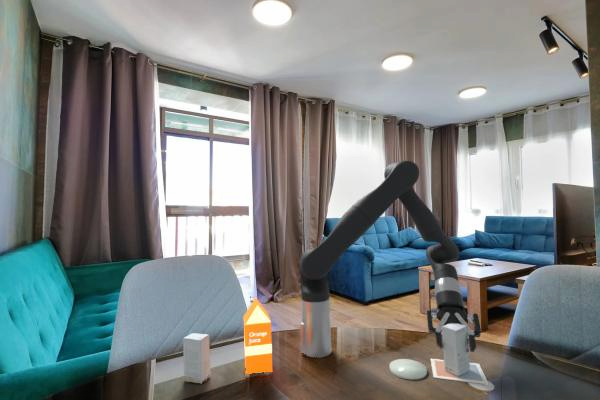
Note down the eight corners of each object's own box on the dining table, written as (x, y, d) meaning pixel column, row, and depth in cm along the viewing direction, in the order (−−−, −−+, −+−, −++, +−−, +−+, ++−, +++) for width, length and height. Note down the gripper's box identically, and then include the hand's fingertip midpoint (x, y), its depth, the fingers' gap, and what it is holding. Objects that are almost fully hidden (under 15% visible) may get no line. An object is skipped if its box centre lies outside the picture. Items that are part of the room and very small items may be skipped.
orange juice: (245, 378, 87) (243, 305, 87) (244, 363, 95) (242, 297, 96) (273, 374, 88) (271, 303, 89) (269, 360, 97) (267, 295, 98)
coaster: (388, 376, 85) (388, 373, 85) (390, 360, 94) (390, 357, 94) (428, 381, 81) (428, 378, 81) (425, 364, 91) (425, 361, 91)
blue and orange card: (433, 377, 83) (433, 377, 83) (430, 359, 94) (430, 358, 94) (488, 384, 79) (488, 383, 79) (479, 364, 89) (479, 363, 89)
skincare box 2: (459, 377, 83) (456, 330, 83) (443, 370, 86) (440, 326, 87) (471, 369, 86) (468, 325, 87) (455, 363, 90) (453, 321, 90)
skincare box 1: (211, 377, 88) (210, 334, 88) (201, 385, 84) (200, 340, 84) (193, 374, 90) (192, 332, 90) (183, 382, 86) (182, 338, 86)
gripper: (423, 288, 97) (428, 341, 85) (475, 290, 92) (488, 346, 80) (423, 300, 101) (428, 352, 90) (473, 303, 97) (484, 358, 85)
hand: (456, 349), depth 85 cm, fingers open, 7 cm apart
